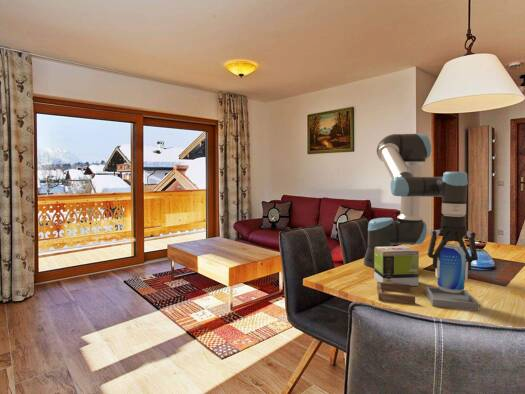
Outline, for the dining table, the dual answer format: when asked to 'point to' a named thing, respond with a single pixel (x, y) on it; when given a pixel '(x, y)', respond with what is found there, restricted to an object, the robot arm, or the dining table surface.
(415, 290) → the dining table surface
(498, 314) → the dining table surface
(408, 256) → the tea box
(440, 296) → the tray
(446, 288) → the beer can
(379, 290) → the frame
